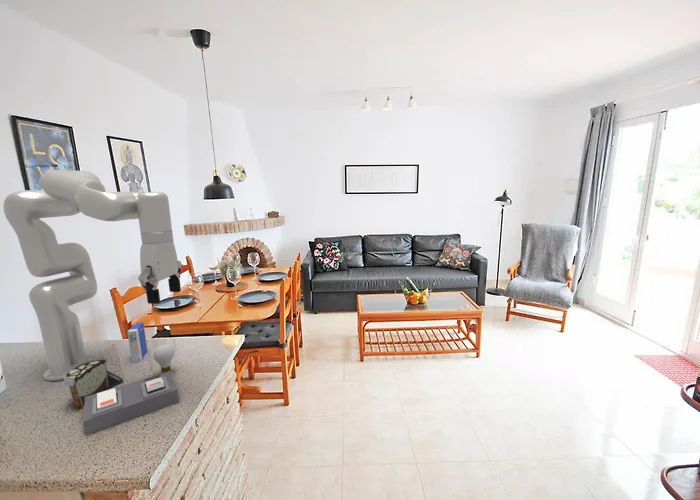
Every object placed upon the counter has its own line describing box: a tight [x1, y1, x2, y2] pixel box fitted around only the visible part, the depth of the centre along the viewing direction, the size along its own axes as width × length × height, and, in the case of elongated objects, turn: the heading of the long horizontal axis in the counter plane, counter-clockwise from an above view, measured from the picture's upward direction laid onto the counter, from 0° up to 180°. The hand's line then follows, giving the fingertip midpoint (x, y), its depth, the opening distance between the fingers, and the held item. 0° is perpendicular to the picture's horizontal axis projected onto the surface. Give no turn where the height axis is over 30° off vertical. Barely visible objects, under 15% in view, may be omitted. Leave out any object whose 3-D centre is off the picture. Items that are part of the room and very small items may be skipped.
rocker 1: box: [97, 387, 117, 411], centre depth 87 cm, size 6×4×1 cm
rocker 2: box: [146, 377, 164, 392], centre depth 93 cm, size 6×4×1 cm
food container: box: [63, 356, 109, 410], centre depth 95 cm, size 12×6×10 cm, turn 178°
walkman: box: [127, 322, 148, 363], centre depth 118 cm, size 8×3×12 cm, turn 15°
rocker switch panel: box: [82, 370, 180, 436], centre depth 92 cm, size 12×21×5 cm, turn 127°
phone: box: [103, 370, 124, 391], centre depth 104 cm, size 8×1×15 cm
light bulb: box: [153, 343, 175, 374], centre depth 108 cm, size 6×6×10 cm
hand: (165, 297), depth 93 cm, fingers open, 9 cm apart
